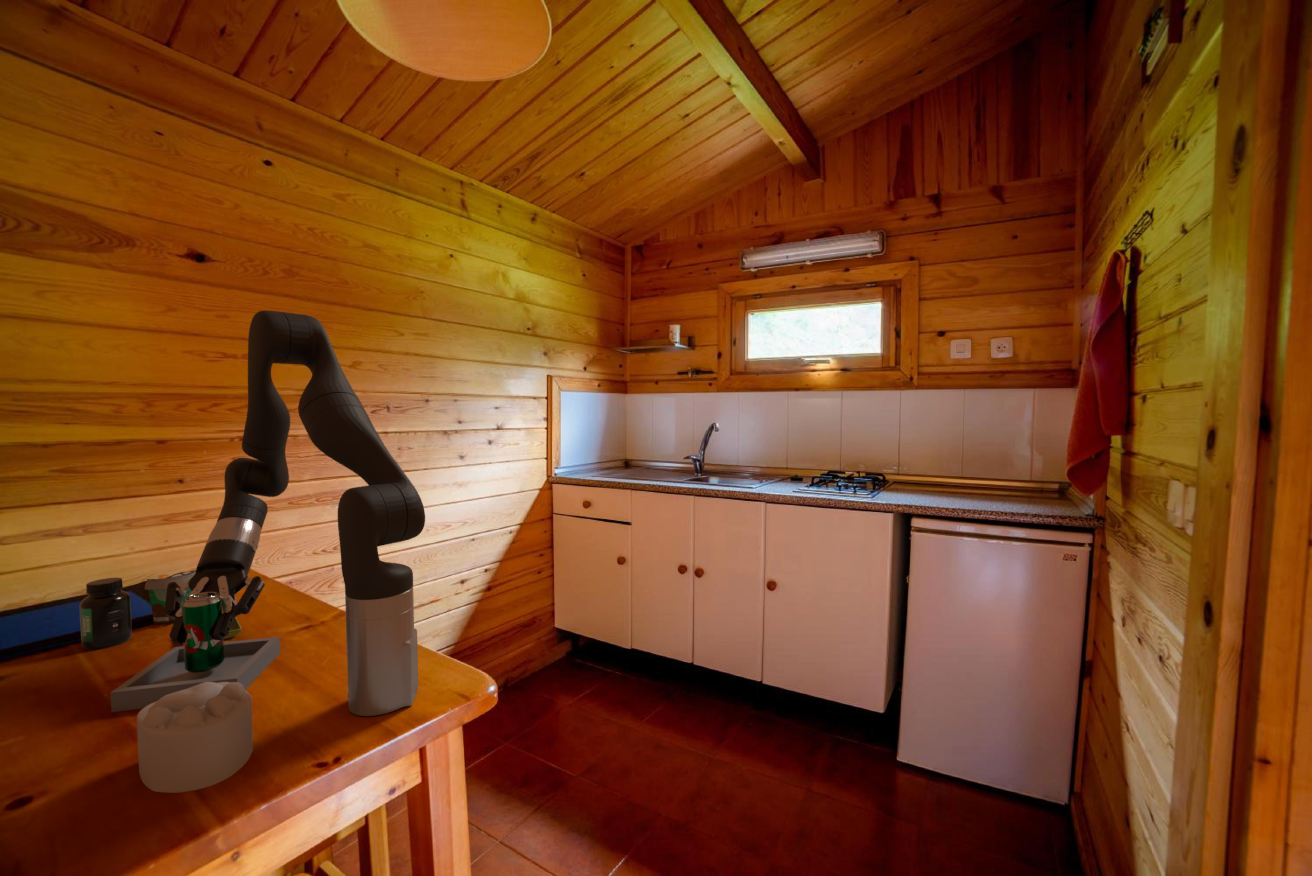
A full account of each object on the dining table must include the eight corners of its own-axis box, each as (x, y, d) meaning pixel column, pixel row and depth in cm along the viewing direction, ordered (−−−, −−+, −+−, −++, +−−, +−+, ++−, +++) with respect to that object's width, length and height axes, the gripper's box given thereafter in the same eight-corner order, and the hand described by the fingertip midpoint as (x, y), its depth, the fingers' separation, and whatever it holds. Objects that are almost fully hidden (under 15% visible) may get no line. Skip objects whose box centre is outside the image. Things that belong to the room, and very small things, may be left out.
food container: (170, 630, 110) (167, 581, 109) (146, 627, 111) (144, 579, 111) (229, 608, 122) (227, 564, 122) (206, 606, 123) (205, 563, 123)
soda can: (220, 657, 93) (217, 588, 92) (228, 665, 90) (225, 595, 89) (181, 667, 89) (178, 596, 89) (188, 677, 86) (185, 603, 85)
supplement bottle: (84, 653, 99) (81, 589, 99) (79, 644, 103) (75, 582, 103) (135, 641, 105) (132, 580, 104) (128, 632, 109) (125, 573, 108)
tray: (280, 652, 99) (279, 636, 99) (237, 697, 84) (237, 678, 84) (176, 663, 95) (175, 646, 95) (111, 712, 80) (110, 692, 80)
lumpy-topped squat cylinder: (231, 726, 76) (229, 666, 76) (269, 760, 69) (267, 693, 69) (130, 766, 68) (127, 698, 67) (162, 809, 60) (158, 733, 60)
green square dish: (237, 626, 113) (236, 616, 113) (242, 638, 107) (242, 628, 106) (181, 638, 107) (181, 628, 107) (184, 652, 101) (183, 641, 100)
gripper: (174, 540, 94) (131, 635, 83) (269, 535, 98) (240, 626, 87) (193, 561, 99) (155, 654, 88) (282, 556, 103) (256, 644, 92)
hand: (197, 639), depth 88 cm, fingers closed on soda can, 5 cm apart
